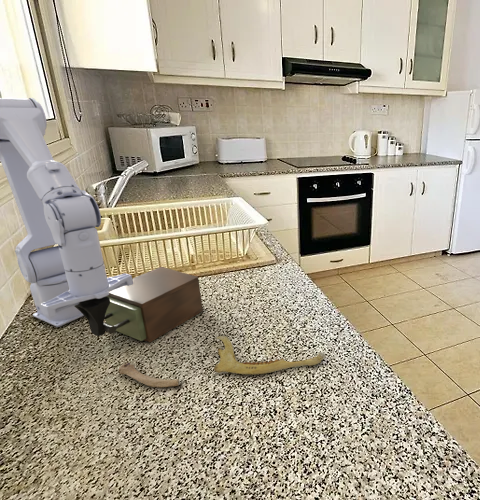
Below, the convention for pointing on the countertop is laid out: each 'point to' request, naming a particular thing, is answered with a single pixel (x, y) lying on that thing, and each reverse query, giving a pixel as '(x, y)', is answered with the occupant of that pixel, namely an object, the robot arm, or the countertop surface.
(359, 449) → the countertop surface
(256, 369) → the jawbone
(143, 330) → the drawer
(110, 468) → the countertop surface
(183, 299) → the cabinet
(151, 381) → the bone
